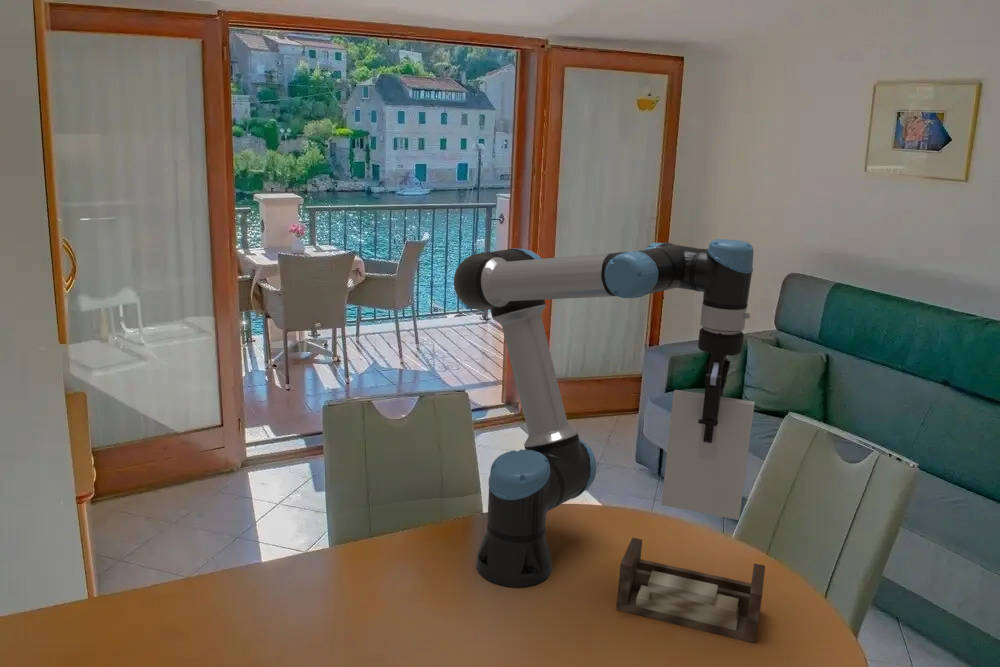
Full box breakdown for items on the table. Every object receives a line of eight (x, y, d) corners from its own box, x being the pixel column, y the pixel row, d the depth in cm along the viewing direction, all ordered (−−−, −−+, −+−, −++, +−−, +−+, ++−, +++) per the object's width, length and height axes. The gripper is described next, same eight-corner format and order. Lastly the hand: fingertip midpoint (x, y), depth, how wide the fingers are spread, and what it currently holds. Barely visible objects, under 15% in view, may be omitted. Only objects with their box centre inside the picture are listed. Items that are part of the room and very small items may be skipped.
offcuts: (635, 606, 152) (638, 580, 150) (640, 593, 156) (643, 567, 155) (736, 630, 146) (739, 603, 144) (738, 616, 150) (741, 589, 149)
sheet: (661, 504, 153) (673, 392, 148) (663, 500, 155) (675, 389, 149) (738, 520, 148) (754, 405, 143) (739, 515, 150) (754, 401, 145)
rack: (616, 609, 153) (620, 563, 151) (628, 580, 163) (632, 537, 161) (755, 643, 145) (762, 595, 142) (758, 610, 155) (765, 565, 153)
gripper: (740, 341, 135) (724, 474, 141) (747, 323, 149) (731, 444, 155) (694, 335, 137) (679, 466, 143) (705, 318, 151) (691, 437, 157)
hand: (706, 454), depth 149 cm, fingers closed on sheet, 2 cm apart
